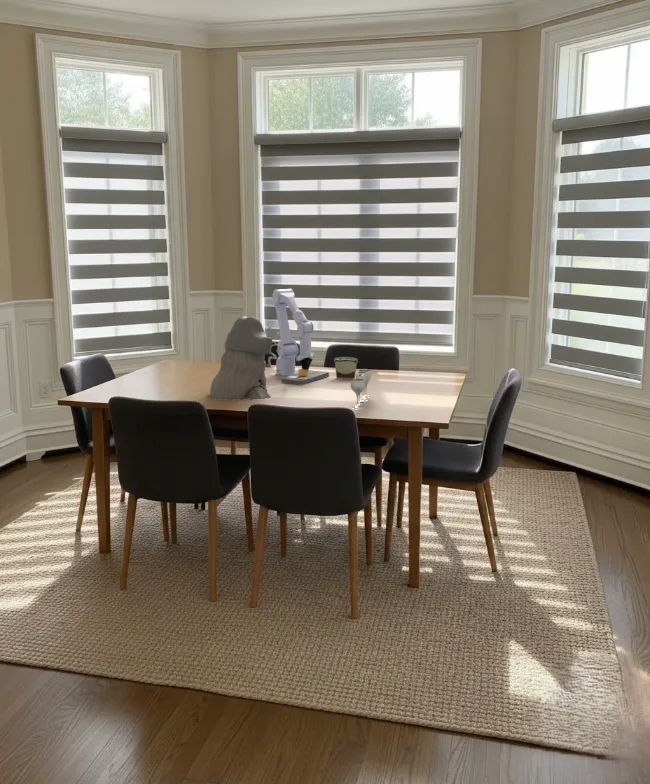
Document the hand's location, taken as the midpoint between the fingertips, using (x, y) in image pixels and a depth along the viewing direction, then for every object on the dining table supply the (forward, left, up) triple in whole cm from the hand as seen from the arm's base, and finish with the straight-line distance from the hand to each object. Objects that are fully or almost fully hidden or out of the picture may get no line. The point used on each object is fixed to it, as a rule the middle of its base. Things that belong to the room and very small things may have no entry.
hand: (305, 372), depth 369 cm
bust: (-8, -42, -3) cm, 43 cm away
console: (0, 0, -3) cm, 3 cm away
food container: (+15, +15, -3) cm, 22 cm away
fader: (0, -3, -1) cm, 3 cm away
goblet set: (+48, -32, -3) cm, 58 cm away
